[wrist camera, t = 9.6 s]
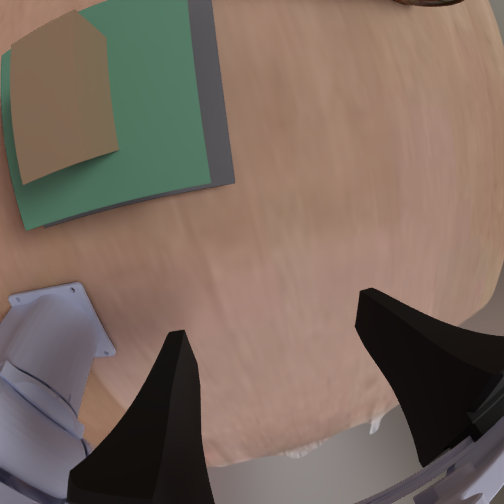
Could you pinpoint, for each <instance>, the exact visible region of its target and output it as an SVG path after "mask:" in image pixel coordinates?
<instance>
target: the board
mask: <svg viewBox="0 0 504 504" xmlns="http://www.w3.org/2000/svg"><path fill="white" fill-rule="evenodd" d="M1 109H2V122H3V132H4V140H5V147H6V153H7V159H8V165H9V170H10V175H11V179H12V184H13V188H14V192H15V196H16V200H17V203H18V207H19V210H20V214H21V217H22V220H23V224H24V227H25V230H26V231H27V230H30V229H33V228H36V227H39V226H42V225H45V224H48V223H51V222H54V221H57V220H61V219H64V218H67V217H70V216H74V215H77V214H80V213H84V212H87V211H91V210H94V209H98V208H102V207H105V206H109V205H113V204H117V203H121V202H125V201H129V200H133V199H137V198H141V197H146V196H150V195H155V194H159V193H164V192H168V191H173V190H178V189H183V188H188V187H193V186H198V185H204V184H209V183H211V179H210V173H209V166H208V160H207V153H206V147H205V140H204V133H203V126H202V119H201V112H200V105H199V98H198V90H197V82H196V74H195V66H194V58H193V49H192V40H191V31H190V22H189V12H188V1H187V0H107V1H104V2H102V3H99V4H96V5H94V6H91V7H89V8H86V9H84V10H81V11H79V12H77V11H76V10H73V11H71V12H69V13H67V14H64V15H62V16H60V17H58V18H56V19H54V20H52V21H51V22H49V23H47V24H45V25H43V26H41V27H40V28H38V29H36V30H34V31H33V32H31V33H29V34H28V35H26V36H24V37H23V38H21V39H20V40H18V41H17V42H15V43H14V44H12V45H11V49H10V50H9V51H7V52H6V53H5V54H3V55H2V59H1Z"/></svg>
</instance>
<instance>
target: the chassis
mask: <svg viewBox="0 0 504 504" xmlns="http://www.w3.org/2000/svg"><path fill="white" fill-rule="evenodd" d="M187 1H188V12H189V22H190V31H191V40H192V49H193V58H194V66H195V74H196V82H197V90H198V98H199V105H200V112H201V119H202V126H203V133H204V140H205V147H206V153H207V160H208V166H209V173H210V179H211V183H209V184H204V185H198V186H193V187H188V188H183V189H178V190H173V191H168V192H164V193H159V194H155V195H150V196H146V197H141V198H137V199H133V200H129V201H125V202H121V203H117V204H113V205H109V206H105V207H102V208H98V209H94V210H91V211H87V212H84V213H80V214H77V215H74V216H70V217H67V218H64V219H61V220H57V221H54V222H51V223H48V224H45V225H44V228H47V227H50V226H53V225H57V224H60V223H63V222H66V221H70V220H73V219H77V218H80V217H83V216H87V215H91V214H94V213H98V212H102V211H105V210H109V209H113V208H117V207H121V206H125V205H129V204H133V203H137V202H142V201H146V200H150V199H155V198H159V197H164V196H169V195H174V194H178V193H183V192H188V191H194V190H199V189H204V188H210V187H215V186H221V185H227V184H233V183H235V177H234V169H233V162H232V155H231V147H230V140H229V133H228V125H227V118H226V110H225V103H224V95H223V87H222V80H221V72H220V64H219V56H218V49H217V41H216V33H215V25H214V17H213V8H212V0H187Z"/></svg>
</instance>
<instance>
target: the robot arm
mask: <svg viewBox="0 0 504 504" xmlns="http://www.w3.org/2000/svg"><path fill="white" fill-rule="evenodd" d="M72 288H73V289H74V290H75V291H74V290H72ZM8 299H9V302H10V304H11V306H12V308H11V309H10V310H9V312H8V313H7V314H6V316H5V317H4V319H3V320H2V322H1V323H0V504H215V503H214V499H213V495H212V491H211V487H210V482H209V478H208V473H207V468H206V463H205V457H204V451H203V445H202V435H201V398H200V380H199V372H198V364H197V361H196V359H195V356H194V354H193V351H192V349H191V346H190V343H189V341H188V338H187V335H186V332H185V330H179V331H172V332H169V333H168V335H167V337H166V339H165V342H164V344H163V346H162V348H161V351H160V353H159V355H158V357H157V359H156V361H155V363H154V365H153V367H152V369H151V371H150V373H149V375H148V377H147V379H146V381H145V383H144V384H143V386H142V388H141V390H140V391H139V393H138V395H137V396H136V398H135V400H134V401H133V403H132V404H131V406H130V407H129V409H128V410H127V412H126V413H125V415H124V416H123V417H122V418H121V420H120V421H119V422H118V424H117V425H116V426H115V428H114V429H113V430H112V431H111V432H110V434H109V435H108V436H107V437H106V438H105V439H104V440H103V441H102V442H101V443H100V444H99V445H98V446H97V447H96V449H95V450H94V451H93V450H92V448H91V446H90V445H89V443H88V442H87V441H86V440H85V439H84V438H83V432H84V427H85V426H84V425H83V424H81V423H80V422H79V421H78V420H77V418H78V414H79V409H80V405H81V401H82V397H83V393H84V390H85V386H86V382H87V379H88V375H89V372H90V368H91V365H92V362H93V359H94V357H108V356H114V355H115V354H116V350H115V348H114V346H113V344H112V343H111V341H110V339H109V337H108V335H107V334H106V332H105V330H104V328H103V326H102V324H101V322H100V320H99V318H98V317H97V315H96V313H95V311H94V308H93V306H92V304H91V302H90V300H89V298H88V296H87V294H86V292H85V289H84V287H83V285H82V284H81V283H79V282H73V283H68V284H63V285H58V286H52V287H47V288H42V289H37V290H32V291H27V292H22V293H17V294H12V295H10V296H9V298H8ZM355 328H356V330H357V333H358V335H359V337H360V339H361V341H362V343H363V345H364V346H365V348H366V349H367V351H368V352H369V354H370V355H371V357H372V358H373V360H374V361H375V363H376V364H377V366H378V367H379V369H380V370H381V372H382V373H383V375H384V376H385V378H386V379H387V381H388V382H389V384H390V385H391V387H392V389H393V391H394V393H395V395H396V397H397V399H398V401H399V403H400V405H401V408H402V410H403V412H404V415H405V417H406V419H407V422H408V425H409V428H410V430H411V433H412V436H413V439H414V443H415V446H416V450H417V454H418V458H419V462H420V463H421V465H422V467H423V468H424V467H425V468H424V469H422V470H420V471H419V472H417V473H415V474H414V475H412V476H410V477H409V478H407V479H405V480H403V481H401V482H399V483H398V484H396V485H394V486H392V487H390V488H388V489H386V490H384V491H382V492H380V493H378V494H375V495H373V496H371V497H369V498H367V499H364V500H362V501H360V502H357V503H355V504H391V503H393V502H395V501H397V500H399V499H401V498H402V497H404V496H406V495H408V494H410V493H411V492H413V491H415V490H416V489H418V488H420V487H421V486H423V485H424V484H426V483H428V482H429V481H431V480H432V479H434V478H435V477H436V476H438V475H440V474H441V473H442V472H444V471H445V470H447V469H448V470H447V474H446V476H445V477H444V478H442V479H441V480H439V481H438V482H436V483H434V484H433V485H431V486H430V487H428V488H427V489H425V490H424V491H422V492H420V493H419V494H417V495H416V496H414V498H413V499H414V502H415V504H489V502H490V501H491V499H492V498H493V497H494V496H495V495H496V493H497V492H498V491H499V490H500V488H501V487H502V486H503V485H504V336H495V335H488V334H483V333H478V332H474V331H470V330H466V329H462V328H459V327H456V326H453V325H450V324H448V323H445V322H442V321H440V320H437V319H435V318H433V317H430V316H428V315H426V314H424V313H422V312H420V311H418V310H416V309H414V308H412V307H410V306H408V305H406V304H404V303H402V302H400V301H398V300H396V299H394V298H392V297H390V296H389V295H387V294H385V293H383V292H381V291H379V290H377V289H374V288H368V289H365V290H361V291H360V294H359V302H358V309H357V316H356V323H355ZM449 450H450V451H449ZM448 451H449V452H448ZM445 453H446V454H445ZM444 454H445V455H444ZM442 455H443V456H442ZM441 456H442V457H441ZM439 457H440V458H439ZM438 458H439V459H438ZM436 459H437V460H436ZM435 460H436V461H435ZM433 461H434V462H433ZM432 462H433V463H432ZM430 463H431V464H430ZM429 464H430V465H429ZM427 465H428V466H427ZM426 466H427V467H426Z"/></svg>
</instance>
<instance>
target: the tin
mask: <svg viewBox="0 0 504 504" xmlns="http://www.w3.org/2000/svg"><path fill="white" fill-rule="evenodd" d="M394 1H397V2H401V3H404V4H409V5H415V6H424V7H439V6H449V5H454V4H457V3H460V2H462V1H464V0H394Z"/></svg>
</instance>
